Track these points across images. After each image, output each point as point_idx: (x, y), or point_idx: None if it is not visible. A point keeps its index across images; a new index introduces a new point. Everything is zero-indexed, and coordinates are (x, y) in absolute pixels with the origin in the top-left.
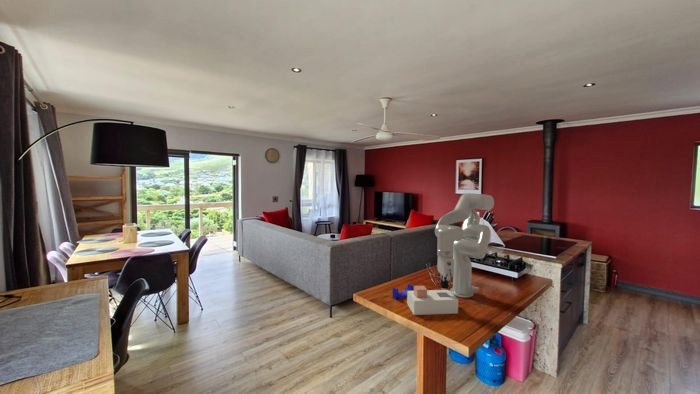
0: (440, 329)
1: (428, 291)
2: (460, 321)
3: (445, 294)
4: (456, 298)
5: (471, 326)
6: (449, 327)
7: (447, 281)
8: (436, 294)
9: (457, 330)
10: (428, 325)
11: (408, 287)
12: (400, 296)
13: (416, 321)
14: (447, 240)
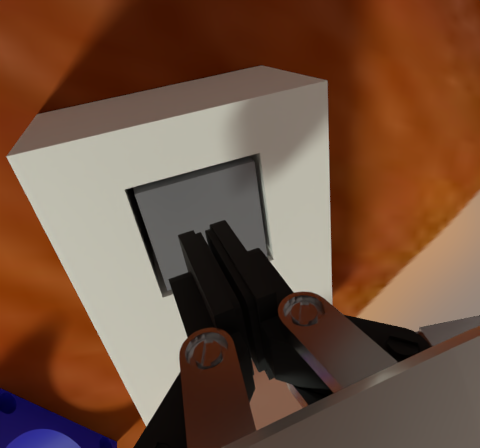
0: (428, 214)
1: (148, 358)
2: (373, 80)
3: (199, 208)
4: (299, 97)
5: (438, 15)
6: (421, 167)
7: (272, 297)
8: None
9: (454, 128)
10: (388, 265)
11: None
12: (89, 446)
13: (350, 315)
14: None
